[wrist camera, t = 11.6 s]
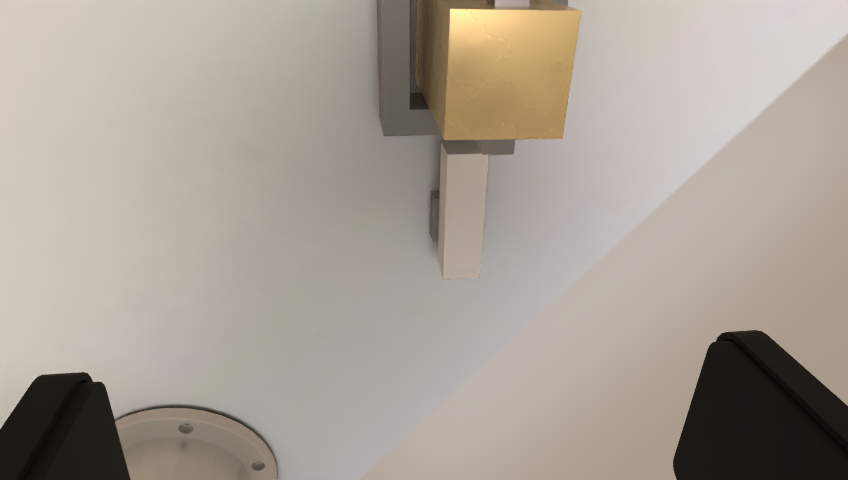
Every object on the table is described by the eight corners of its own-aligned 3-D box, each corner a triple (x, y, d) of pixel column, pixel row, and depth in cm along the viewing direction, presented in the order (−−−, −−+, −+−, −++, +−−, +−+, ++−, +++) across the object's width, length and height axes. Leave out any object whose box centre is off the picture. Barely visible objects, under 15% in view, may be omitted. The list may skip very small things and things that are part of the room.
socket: (575, -279, 23) (605, -306, 20) (519, 247, 34) (534, 274, 31) (341, -293, 22) (341, -323, 19) (364, 255, 33) (366, 283, 30)
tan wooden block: (513, -34, 27) (585, -16, 19) (501, 96, 29) (559, 159, 22) (418, -36, 26) (451, -19, 18) (415, 96, 29) (443, 161, 21)
